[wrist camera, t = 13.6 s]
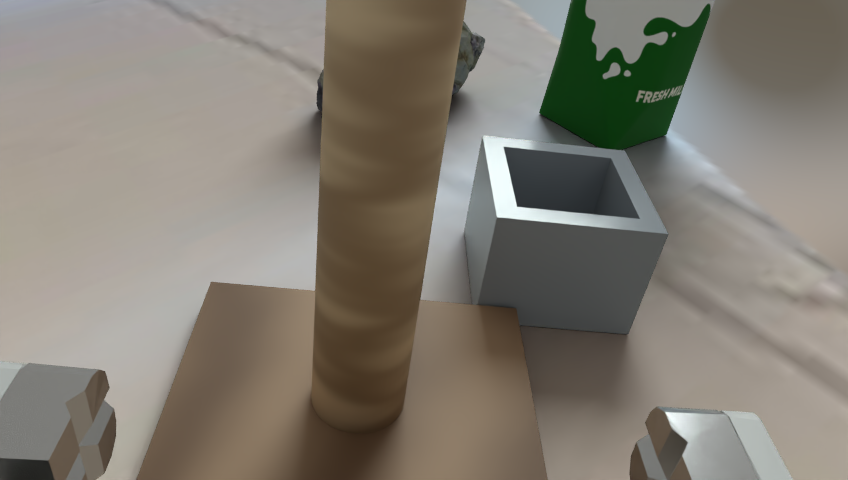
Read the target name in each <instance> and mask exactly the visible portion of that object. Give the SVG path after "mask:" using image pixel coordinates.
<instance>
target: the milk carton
mask: <svg viewBox="0 0 848 480" xmlns="http://www.w3.org/2000/svg"><path fill="white" fill-rule="evenodd" d="M714 2H715V0H571V3H570V8H569V12H568V16H567V20H566V24H565V28H564V32H563V37H562V40H561V44H560V48H559V51H558V55H557V58H556V61H555V64H554V67H553V71H552V74H551V77H550V80H549V83H548V87H547V90H546V93H545V96H544V99H543V103H542V106H541V109H540V112H539V113H540V114H542V115H543V116H545V117H547V118H548V119H550V120H552V121H554V122H555V123H557V124H559V125H561V126H562V127H564V128H566V129H568V130H569V131H571V132H573V133H574V134H576V135H578V136H580V137H581V138H583V139H585V140H587V141H588V142H590V143H592V144H594V145H595V146H597V147H599V148H604V149H613V150H622V149H625V148H628V147H631V146H634V145H637V144H640V143H643V142H646V141H649V140H652V139H655V138H658V137H661V136H664V135H666V134H667V131H668V128H669V126H670V123H671V120H672V117H673V114H674V112H675V109H676V106H677V104H678V101H679V98H680V95H681V92H682V90H683V87H684V84H685V81H686V79H687V76H688V73H689V70H690V68H691V65H692V62H693V59H694V56H695V54H696V51H697V48H698V45H699V43H700V40H701V37H702V34H703V31H704V29H705V26H706V24H707V21H708V18H709V15H710V12H711V10H712V7H713V4H714Z"/></svg>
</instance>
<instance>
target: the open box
mask: <svg viewBox="0 0 848 480" xmlns="http://www.w3.org/2000/svg"><path fill="white" fill-rule="evenodd" d="M464 233H465V242H466V252H467V261H468V271H469V280H470V290H471V300H472V305H483V306H495V307H506V308H516V309H517V315H518V320H519V325H524V326H536V327H547V328H559V329H571V330H583V331H595V332H606V333H618V334H628V333H629V331H630V328H631V326H632V323H633V321H634V318H635V316H636V313H637V311H638V308H639V306H640V303H641V301H642V298H643V296H644V293H645V291H646V289H647V286H648V284H649V281H650V279H651V276H652V274H653V271H654V269H655V266H656V264H657V261H658V259H659V256H660V254H661V251H662V249H663V246H664V244H665V241H666V239H667V236H668V232H667V230H666V228H665V226H664V224H663V223H662V221H661V219H660V217H659V215H658V213H657V211H656V209H655V207H654V205H653V203H652V201H651V200H650V198H649V196H648V194H647V192H646V190H645V188H644V186H643V184H642V182H641V180H640V178H639V176H638V175H637V173H636V171H635V169H634V167H633V165H632V163H631V161H630V159H629V157H628V155H627V153H626V152H625V151H623V150H613V149H604V148H595V147H585V146H576V145H567V144H557V143H548V142H539V141H529V140H520V139H510V138H501V137H492V136H482V141H481V146H480V151H479V156H478V162H477V167H476V172H475V177H474V182H473V188H472V193H471V198H470V203H469V208H468V214H467V219H466V224H465V229H464Z"/></svg>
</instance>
